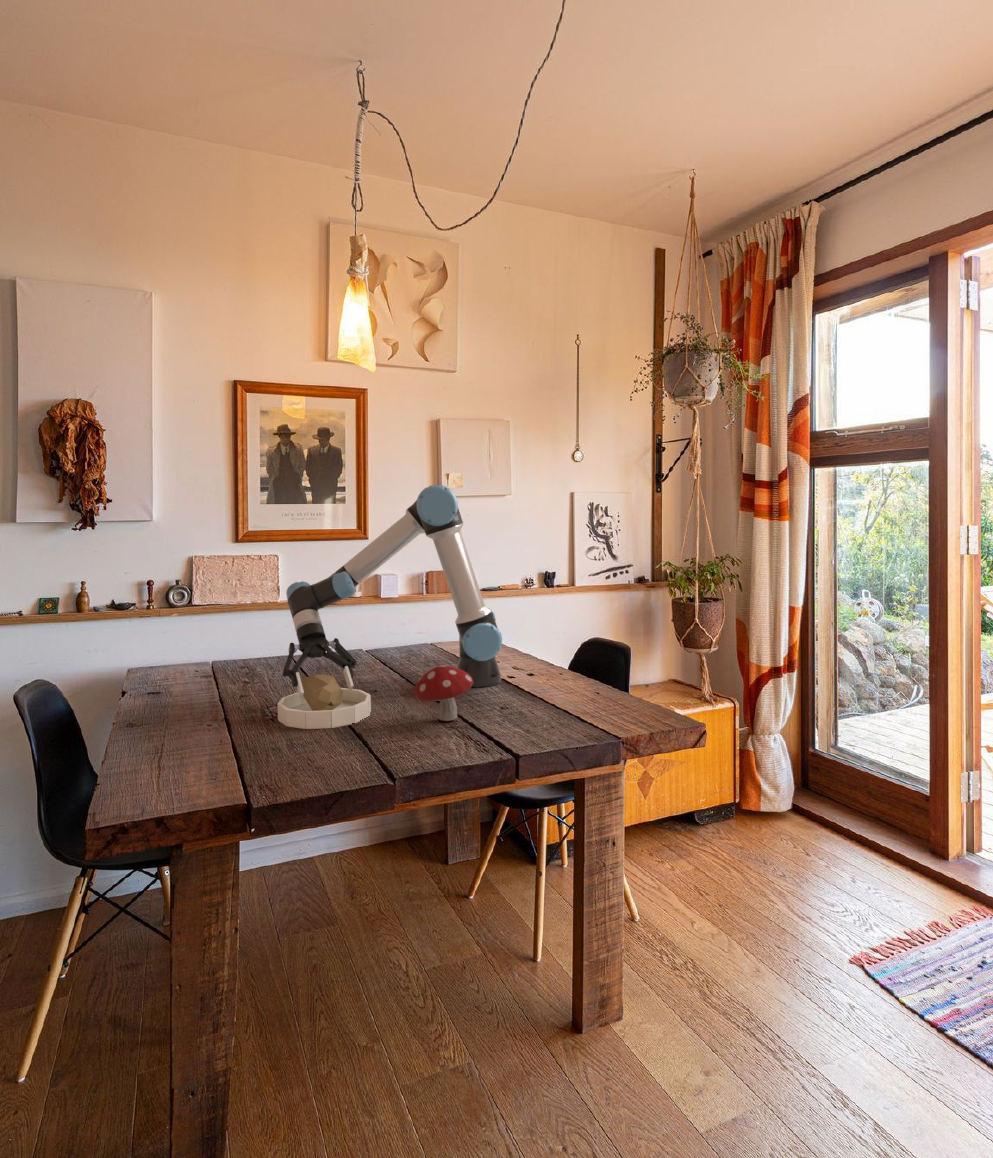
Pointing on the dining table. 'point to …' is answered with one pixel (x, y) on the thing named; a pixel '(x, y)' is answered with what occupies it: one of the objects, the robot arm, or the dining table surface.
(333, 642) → the robot arm
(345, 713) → the cream bowl
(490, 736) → the dining table surface
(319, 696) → the low-poly potato
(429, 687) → the decorative mushroom
